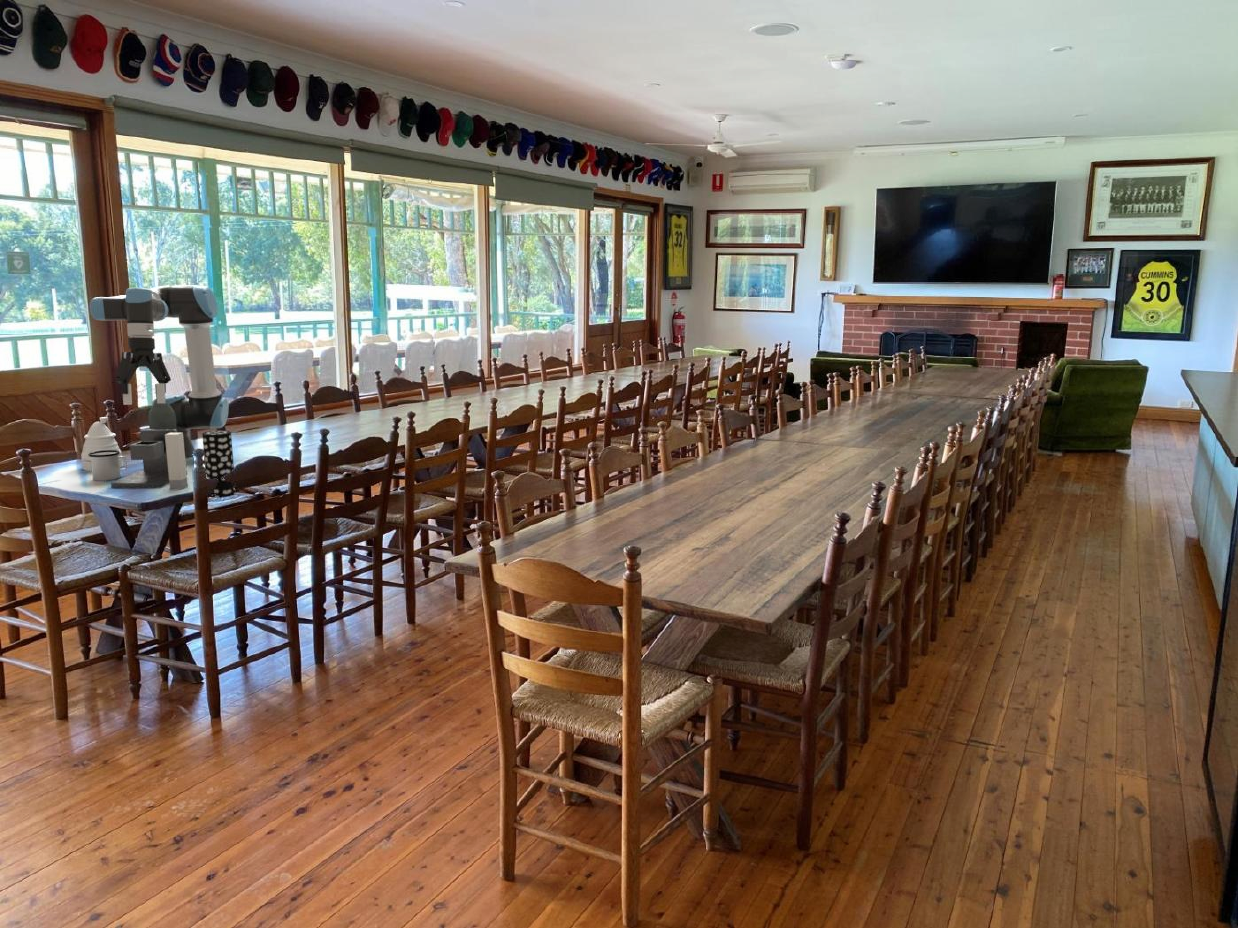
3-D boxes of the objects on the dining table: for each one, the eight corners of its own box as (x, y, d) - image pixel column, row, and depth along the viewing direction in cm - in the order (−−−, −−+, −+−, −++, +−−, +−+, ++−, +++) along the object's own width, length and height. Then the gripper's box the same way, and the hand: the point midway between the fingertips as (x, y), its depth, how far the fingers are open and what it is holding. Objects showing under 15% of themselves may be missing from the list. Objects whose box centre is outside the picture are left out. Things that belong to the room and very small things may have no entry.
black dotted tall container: (239, 491, 296) (235, 430, 292) (230, 497, 288) (224, 435, 284) (213, 491, 296) (208, 430, 292) (203, 497, 288) (197, 435, 284)
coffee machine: (141, 474, 321) (136, 429, 318) (187, 474, 321) (183, 429, 318) (111, 487, 301) (106, 439, 298) (160, 487, 302) (155, 439, 298)
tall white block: (175, 486, 304) (170, 432, 300) (187, 486, 304) (182, 432, 300) (170, 488, 300) (164, 434, 296) (182, 488, 300) (177, 434, 296)
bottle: (172, 468, 331) (164, 385, 325) (147, 468, 331) (139, 385, 325) (185, 463, 340) (177, 382, 334) (160, 463, 340) (153, 382, 334)
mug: (100, 482, 308) (97, 456, 306) (85, 479, 313) (82, 453, 311) (135, 476, 318) (132, 450, 316) (119, 473, 323) (117, 447, 321)
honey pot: (121, 462, 342) (116, 414, 338) (124, 468, 331) (119, 419, 328) (81, 466, 335) (75, 417, 331) (83, 472, 324) (78, 422, 321)
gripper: (118, 335, 280) (122, 405, 282) (180, 338, 303) (183, 402, 305) (99, 336, 282) (103, 405, 284) (162, 339, 306) (165, 402, 308)
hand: (145, 404), depth 295 cm, fingers open, 13 cm apart
